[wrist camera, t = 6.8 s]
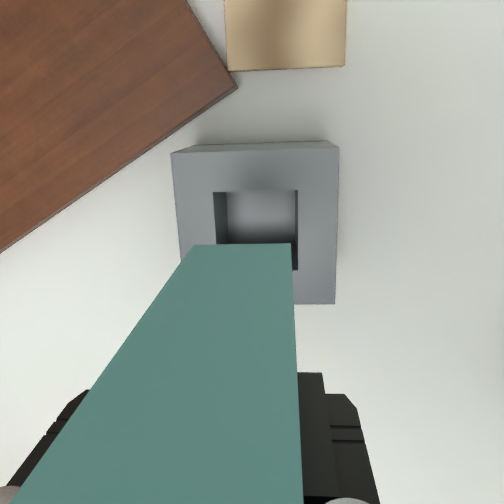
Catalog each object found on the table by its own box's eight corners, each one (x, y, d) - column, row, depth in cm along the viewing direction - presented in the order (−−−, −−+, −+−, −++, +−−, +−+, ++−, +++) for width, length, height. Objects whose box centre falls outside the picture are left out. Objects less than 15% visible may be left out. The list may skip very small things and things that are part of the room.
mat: (346, -70, 26) (348, -77, 25) (342, 66, 29) (344, 64, 28) (222, -61, 27) (220, -67, 26) (229, 72, 29) (227, 70, 29)
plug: (290, 243, 17) (308, 603, 4) (291, 331, 18) (307, 805, 6) (193, 244, 17) (-49, 583, 5) (200, 331, 18) (26, 778, 6)
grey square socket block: (326, 140, 30) (339, 147, 24) (324, 266, 34) (335, 304, 27) (193, 145, 31) (170, 153, 25) (203, 268, 34) (185, 304, 28)
